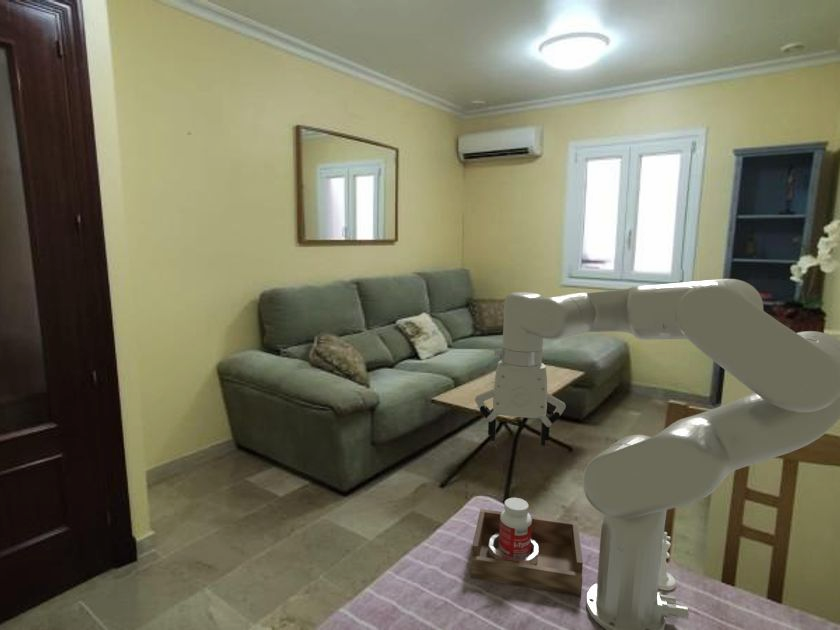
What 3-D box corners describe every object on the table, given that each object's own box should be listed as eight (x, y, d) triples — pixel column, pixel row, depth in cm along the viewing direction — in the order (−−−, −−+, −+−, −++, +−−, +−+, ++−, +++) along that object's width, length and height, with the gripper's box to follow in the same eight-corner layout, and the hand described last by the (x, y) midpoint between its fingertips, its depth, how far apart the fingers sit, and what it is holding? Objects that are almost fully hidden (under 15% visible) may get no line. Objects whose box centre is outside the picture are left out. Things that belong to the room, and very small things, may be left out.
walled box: (575, 548, 101) (577, 522, 100) (581, 596, 88) (583, 566, 87) (479, 534, 106) (480, 508, 105) (470, 577, 92) (471, 548, 91)
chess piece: (674, 594, 88) (680, 544, 87) (645, 584, 91) (649, 535, 89) (676, 578, 93) (681, 530, 91) (647, 569, 95) (652, 522, 93)
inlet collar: (537, 543, 101) (538, 534, 101) (537, 574, 92) (538, 564, 91) (491, 536, 103) (491, 528, 103) (486, 565, 94) (487, 556, 94)
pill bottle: (514, 568, 93) (516, 515, 91) (492, 551, 98) (494, 501, 96) (536, 557, 97) (539, 506, 95) (514, 541, 102) (516, 492, 100)
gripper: (475, 358, 91) (472, 444, 94) (570, 364, 88) (564, 453, 91) (478, 349, 99) (475, 429, 101) (566, 355, 95) (561, 437, 98)
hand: (517, 440), depth 96 cm, fingers open, 9 cm apart
